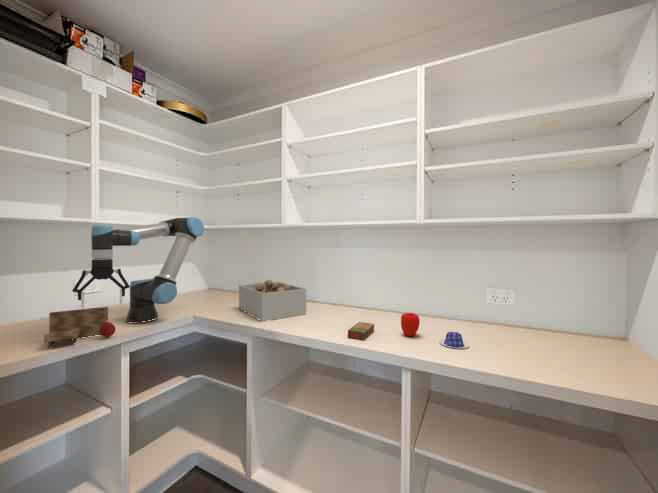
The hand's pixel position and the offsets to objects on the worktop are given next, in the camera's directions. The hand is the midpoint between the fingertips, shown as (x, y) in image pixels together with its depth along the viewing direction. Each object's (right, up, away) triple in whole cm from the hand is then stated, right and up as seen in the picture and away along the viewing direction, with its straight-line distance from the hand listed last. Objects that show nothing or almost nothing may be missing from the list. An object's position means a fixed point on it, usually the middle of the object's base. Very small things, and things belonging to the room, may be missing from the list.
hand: (102, 305), depth 129 cm
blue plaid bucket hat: (+159, -17, -4) cm, 160 cm away
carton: (+120, -17, +9) cm, 121 cm away
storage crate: (+67, -15, +53) cm, 86 cm away
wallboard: (-10, -15, 0) cm, 18 cm away
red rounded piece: (+143, -16, +7) cm, 144 cm away
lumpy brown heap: (+66, -15, +52) cm, 86 cm away
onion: (+2, -15, +1) cm, 16 cm away
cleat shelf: (-11, -15, -8) cm, 20 cm away
